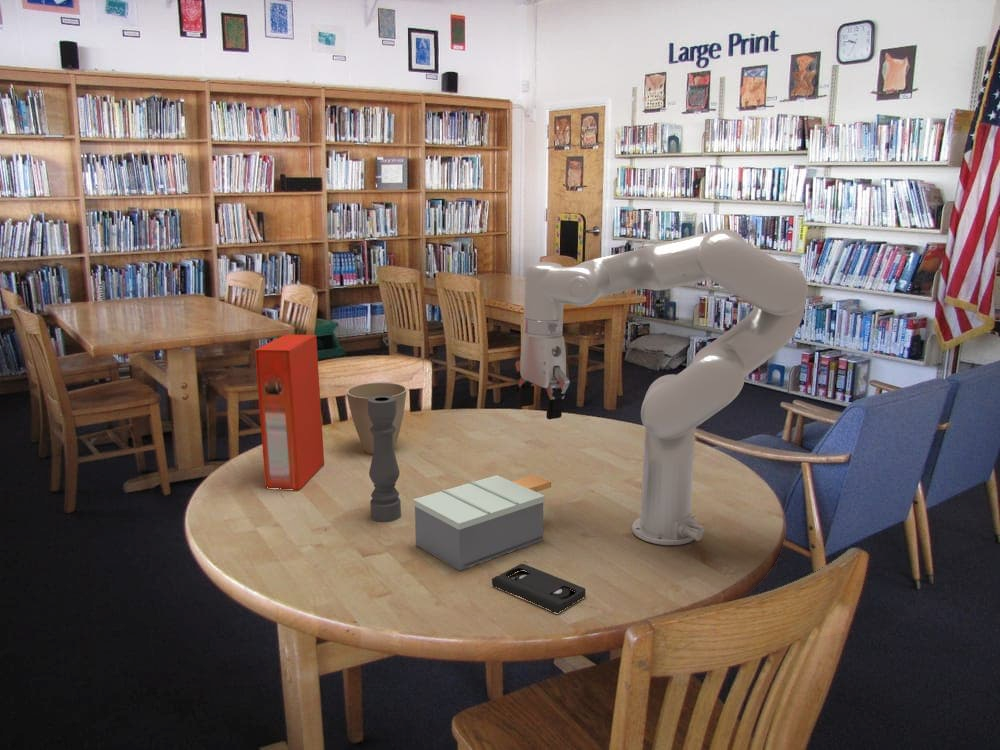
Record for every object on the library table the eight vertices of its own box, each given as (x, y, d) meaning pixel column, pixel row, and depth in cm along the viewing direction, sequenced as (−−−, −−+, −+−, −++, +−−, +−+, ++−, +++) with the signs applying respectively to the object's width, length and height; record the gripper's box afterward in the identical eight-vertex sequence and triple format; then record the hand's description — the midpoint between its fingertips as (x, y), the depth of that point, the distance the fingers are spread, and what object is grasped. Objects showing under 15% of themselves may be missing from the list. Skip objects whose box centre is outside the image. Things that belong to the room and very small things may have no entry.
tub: (542, 540, 164) (543, 501, 162) (459, 571, 151) (459, 529, 150) (497, 518, 174) (496, 481, 172) (415, 544, 162) (414, 505, 160)
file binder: (264, 489, 190) (254, 349, 182) (292, 463, 207) (284, 334, 199) (299, 491, 189) (290, 350, 181) (324, 464, 206) (317, 335, 198)
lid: (567, 494, 166) (567, 486, 165) (459, 529, 149) (458, 521, 149) (519, 474, 176) (519, 467, 176) (413, 505, 160) (413, 497, 160)
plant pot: (355, 440, 224) (353, 382, 220) (412, 441, 223) (410, 382, 219) (343, 459, 209) (340, 397, 205) (403, 460, 209) (401, 397, 205)
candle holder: (405, 511, 178) (402, 396, 172) (394, 523, 172) (390, 404, 166) (378, 508, 179) (373, 394, 173) (365, 520, 173) (361, 402, 167)
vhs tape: (586, 599, 143) (586, 588, 142) (557, 617, 137) (557, 606, 136) (521, 573, 152) (521, 562, 151) (492, 589, 146) (492, 578, 146)
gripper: (585, 333, 159) (581, 420, 163) (534, 318, 173) (531, 398, 177) (552, 336, 155) (548, 426, 159) (503, 320, 169) (501, 403, 174)
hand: (539, 411), depth 168 cm, fingers open, 9 cm apart
